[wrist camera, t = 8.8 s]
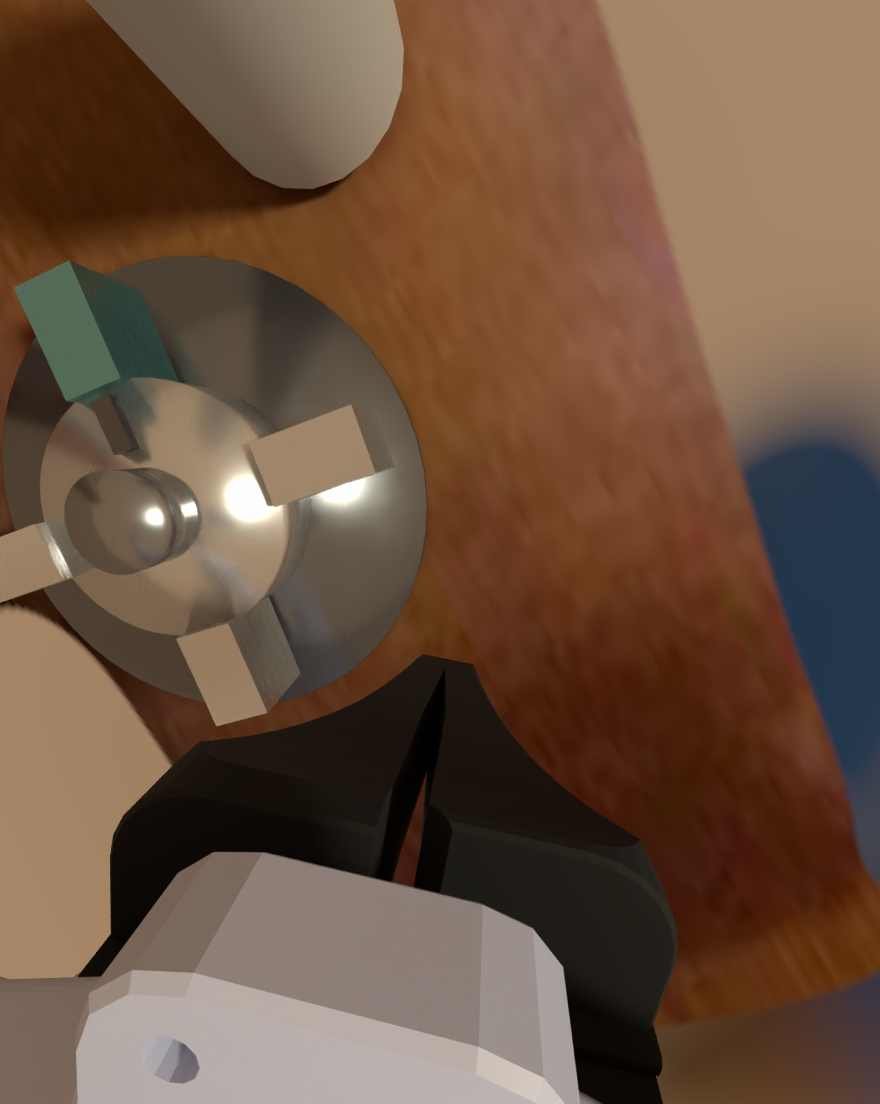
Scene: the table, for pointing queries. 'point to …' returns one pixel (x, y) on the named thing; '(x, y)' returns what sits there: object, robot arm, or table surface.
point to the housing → (167, 506)
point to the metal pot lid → (202, 467)
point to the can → (275, 76)
